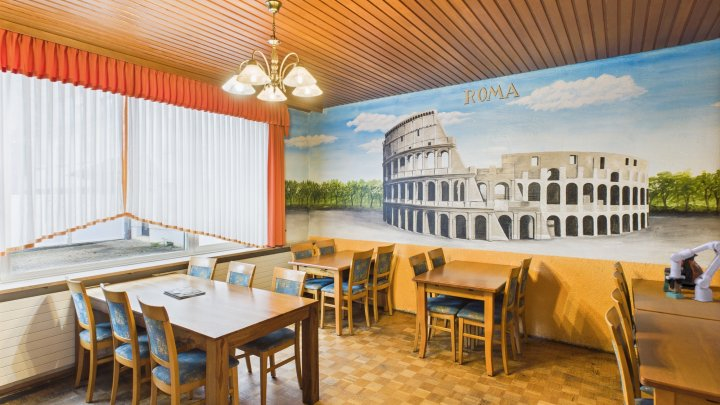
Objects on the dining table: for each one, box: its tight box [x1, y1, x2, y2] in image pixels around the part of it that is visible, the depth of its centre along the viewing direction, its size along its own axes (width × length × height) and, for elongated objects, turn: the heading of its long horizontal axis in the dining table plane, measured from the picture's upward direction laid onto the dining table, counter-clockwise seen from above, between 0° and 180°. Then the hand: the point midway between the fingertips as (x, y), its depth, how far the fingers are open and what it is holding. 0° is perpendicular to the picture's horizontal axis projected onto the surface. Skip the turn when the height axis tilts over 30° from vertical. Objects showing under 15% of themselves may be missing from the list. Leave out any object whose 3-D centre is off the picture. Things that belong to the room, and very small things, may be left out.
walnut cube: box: [669, 283, 682, 293], centre depth 276 cm, size 5×5×5 cm
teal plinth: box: [665, 291, 685, 300], centre depth 275 cm, size 7×7×3 cm
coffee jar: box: [662, 267, 680, 293], centre depth 291 cm, size 10×8×19 cm
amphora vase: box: [681, 253, 705, 291], centre depth 305 cm, size 22×22×28 cm
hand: (675, 288), depth 275 cm, fingers closed on walnut cube, 5 cm apart
